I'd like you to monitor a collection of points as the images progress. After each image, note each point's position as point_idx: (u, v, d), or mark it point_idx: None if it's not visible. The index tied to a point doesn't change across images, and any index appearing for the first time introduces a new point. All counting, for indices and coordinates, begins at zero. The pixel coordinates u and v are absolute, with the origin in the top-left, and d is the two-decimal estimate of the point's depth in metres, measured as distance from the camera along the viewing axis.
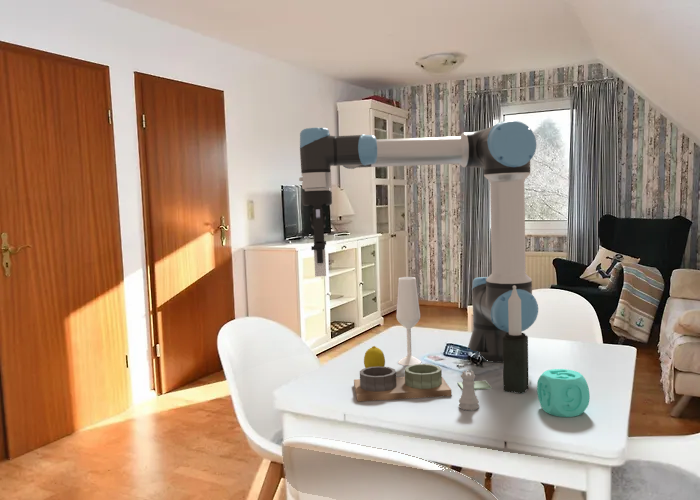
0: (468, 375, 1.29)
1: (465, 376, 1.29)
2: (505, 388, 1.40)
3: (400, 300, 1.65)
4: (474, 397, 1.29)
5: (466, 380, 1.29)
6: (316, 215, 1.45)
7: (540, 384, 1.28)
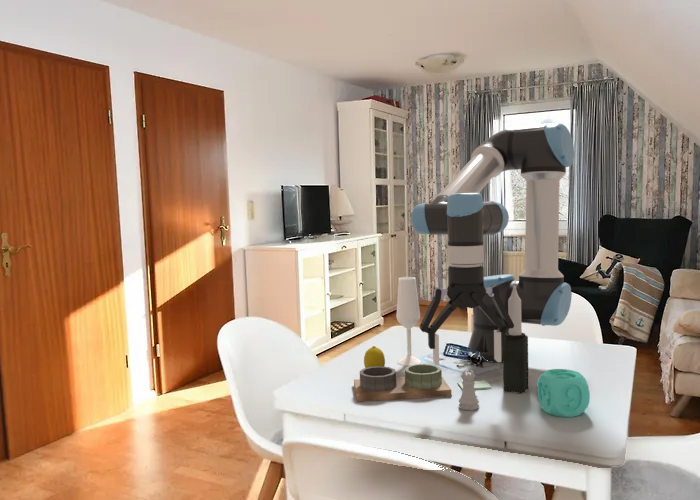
0: (468, 375, 1.29)
1: (465, 376, 1.29)
2: (505, 388, 1.40)
3: (400, 300, 1.65)
4: (474, 397, 1.29)
5: (466, 380, 1.29)
6: (434, 294, 1.28)
7: (540, 384, 1.28)
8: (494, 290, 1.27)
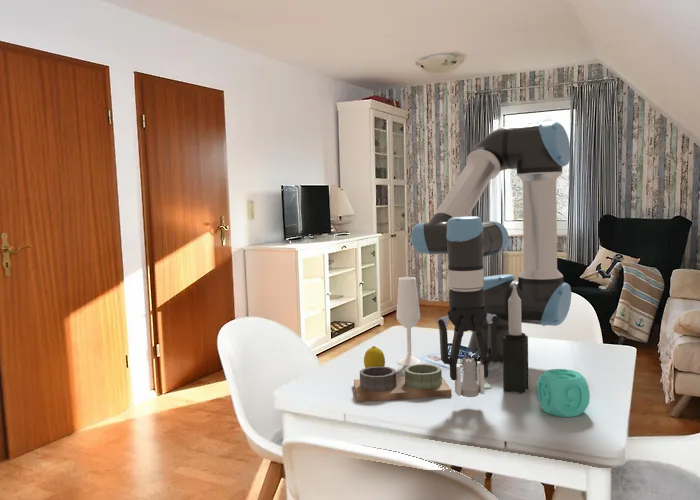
0: (468, 362, 1.29)
1: (465, 363, 1.29)
2: (505, 388, 1.40)
3: (400, 300, 1.65)
4: (475, 384, 1.29)
5: (466, 367, 1.29)
6: (438, 325, 1.29)
7: (540, 384, 1.28)
8: (494, 319, 1.28)
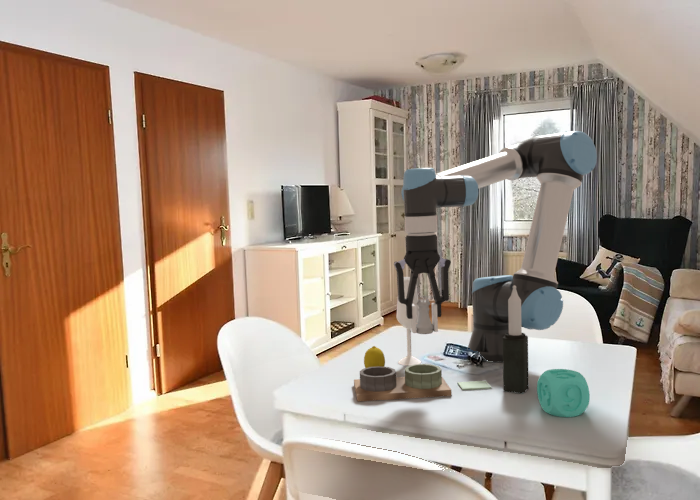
0: (423, 301, 1.40)
1: (420, 303, 1.41)
2: (505, 388, 1.40)
3: None
4: (429, 322, 1.41)
5: (421, 306, 1.41)
6: (396, 268, 1.41)
7: (540, 384, 1.28)
8: (446, 262, 1.40)
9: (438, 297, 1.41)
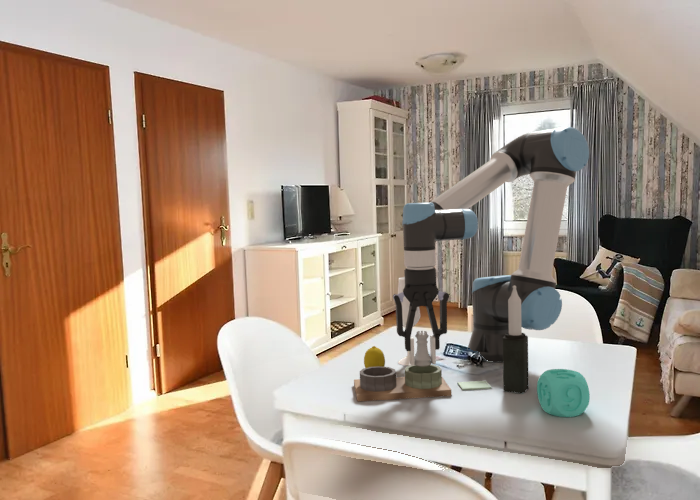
0: (421, 334, 1.42)
1: (419, 335, 1.42)
2: (505, 388, 1.40)
3: None
4: (427, 354, 1.42)
5: (419, 339, 1.42)
6: None
7: (540, 384, 1.28)
8: (445, 295, 1.41)
9: (436, 330, 1.42)
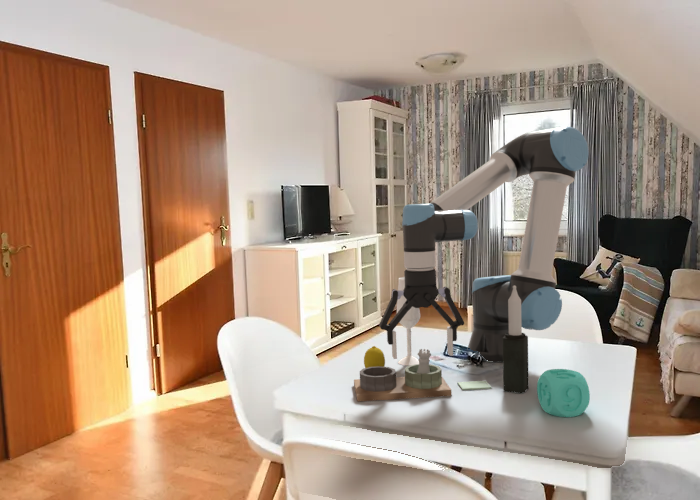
0: (424, 353, 1.42)
1: (421, 354, 1.42)
2: (505, 388, 1.40)
3: (400, 300, 1.65)
4: None
5: (422, 357, 1.42)
6: (391, 295, 1.42)
7: (540, 384, 1.28)
8: (446, 291, 1.41)
9: (452, 322, 1.42)
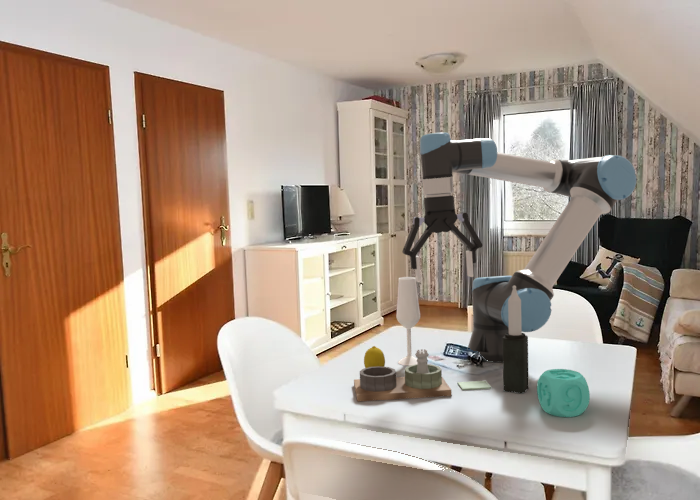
0: (422, 353, 1.42)
1: (419, 354, 1.42)
2: (505, 388, 1.40)
3: (400, 300, 1.65)
4: None
5: (420, 358, 1.42)
6: (413, 222, 1.50)
7: (540, 384, 1.28)
8: (464, 215, 1.49)
9: (471, 245, 1.50)
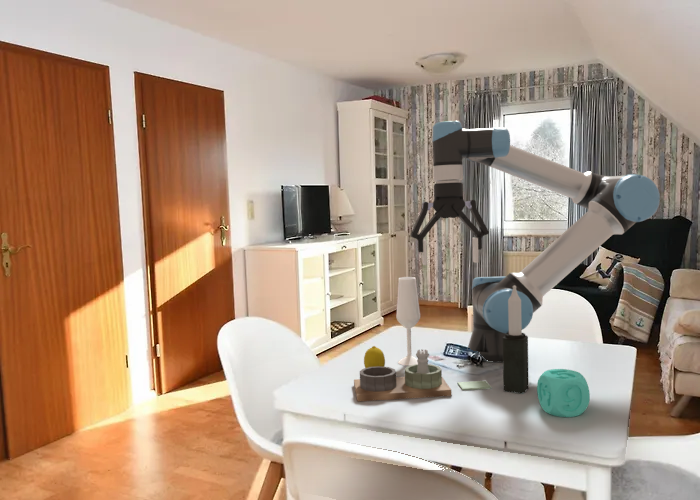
0: (422, 353, 1.42)
1: (420, 354, 1.42)
2: (505, 388, 1.40)
3: (400, 300, 1.65)
4: None
5: (420, 358, 1.42)
6: (422, 207, 1.55)
7: (540, 384, 1.28)
8: (472, 202, 1.54)
9: (477, 232, 1.55)
